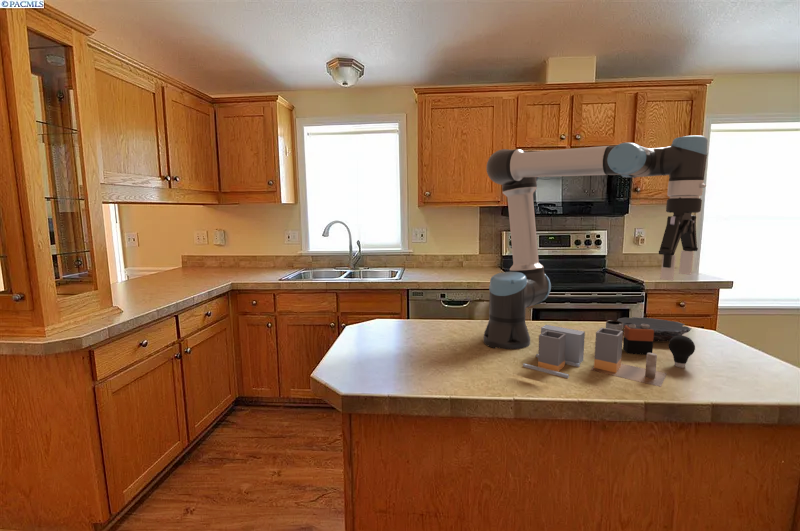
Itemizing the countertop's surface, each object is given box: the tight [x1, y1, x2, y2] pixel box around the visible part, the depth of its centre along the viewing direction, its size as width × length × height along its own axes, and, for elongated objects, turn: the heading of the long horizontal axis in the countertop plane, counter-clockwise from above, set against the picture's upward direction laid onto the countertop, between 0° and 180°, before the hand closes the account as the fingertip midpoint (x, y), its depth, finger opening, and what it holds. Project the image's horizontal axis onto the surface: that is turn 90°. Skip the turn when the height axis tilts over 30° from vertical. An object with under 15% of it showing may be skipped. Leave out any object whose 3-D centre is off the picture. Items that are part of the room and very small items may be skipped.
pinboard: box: [590, 352, 668, 388], centre depth 104 cm, size 16×10×8 cm, turn 49°
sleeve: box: [537, 330, 566, 372], centre depth 108 cm, size 5×5×10 cm
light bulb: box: [668, 335, 696, 369], centre depth 107 cm, size 6×6×10 cm
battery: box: [622, 324, 654, 356], centre depth 118 cm, size 4×7×10 cm, turn 78°
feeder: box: [522, 324, 586, 379], centre depth 110 cm, size 12×15×10 cm
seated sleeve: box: [593, 327, 624, 373], centre depth 106 cm, size 5×5×10 cm
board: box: [616, 316, 692, 343], centre depth 137 cm, size 22×22×5 cm
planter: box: [605, 319, 624, 332], centre depth 119 cm, size 4×4×10 cm
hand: (676, 276), depth 106 cm, fingers open, 13 cm apart
